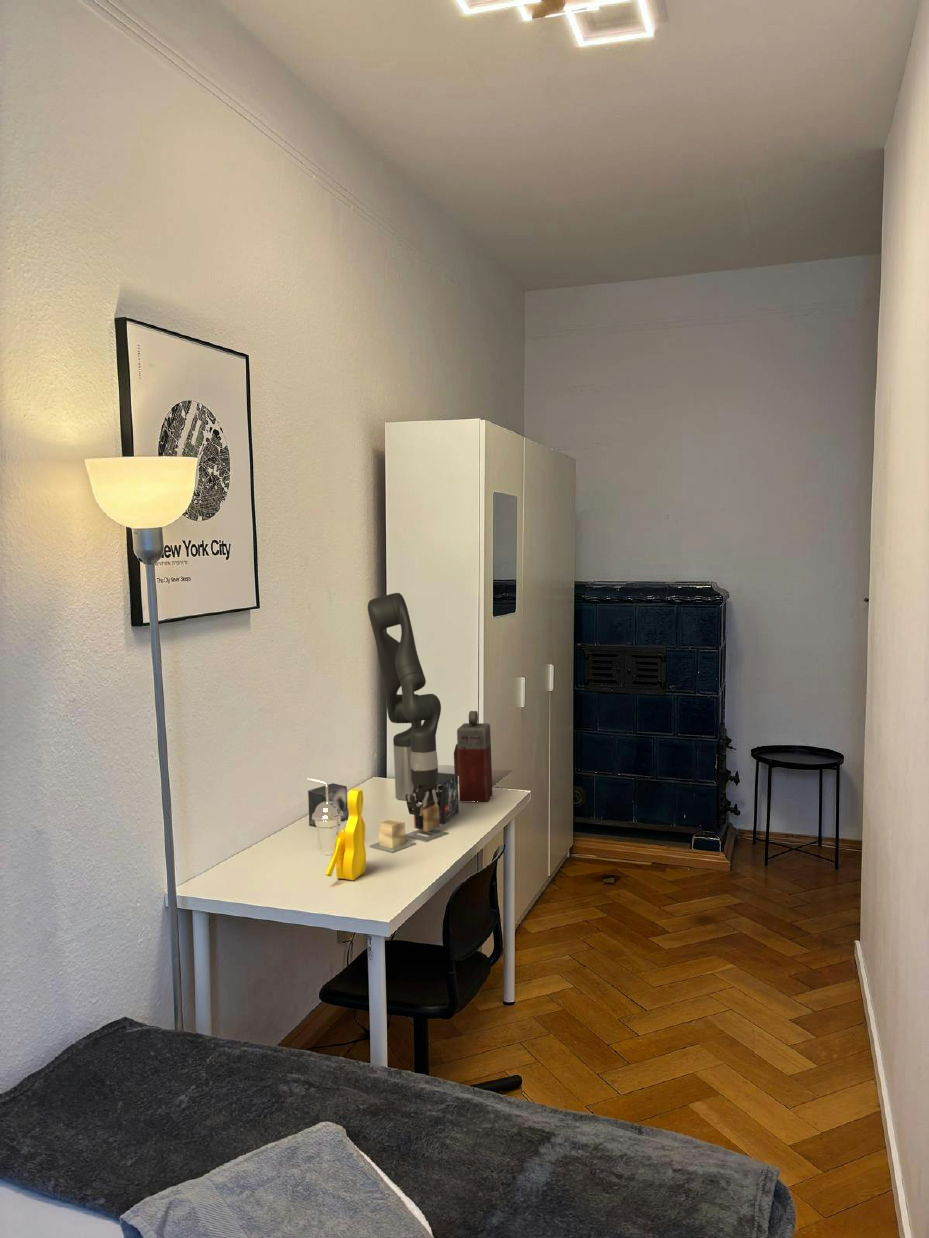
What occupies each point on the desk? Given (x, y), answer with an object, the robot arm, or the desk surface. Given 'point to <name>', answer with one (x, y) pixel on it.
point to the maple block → (392, 833)
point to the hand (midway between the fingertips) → (426, 825)
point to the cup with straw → (327, 822)
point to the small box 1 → (335, 795)
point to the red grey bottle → (473, 760)
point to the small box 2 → (448, 796)
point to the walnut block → (429, 817)
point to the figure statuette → (350, 842)
